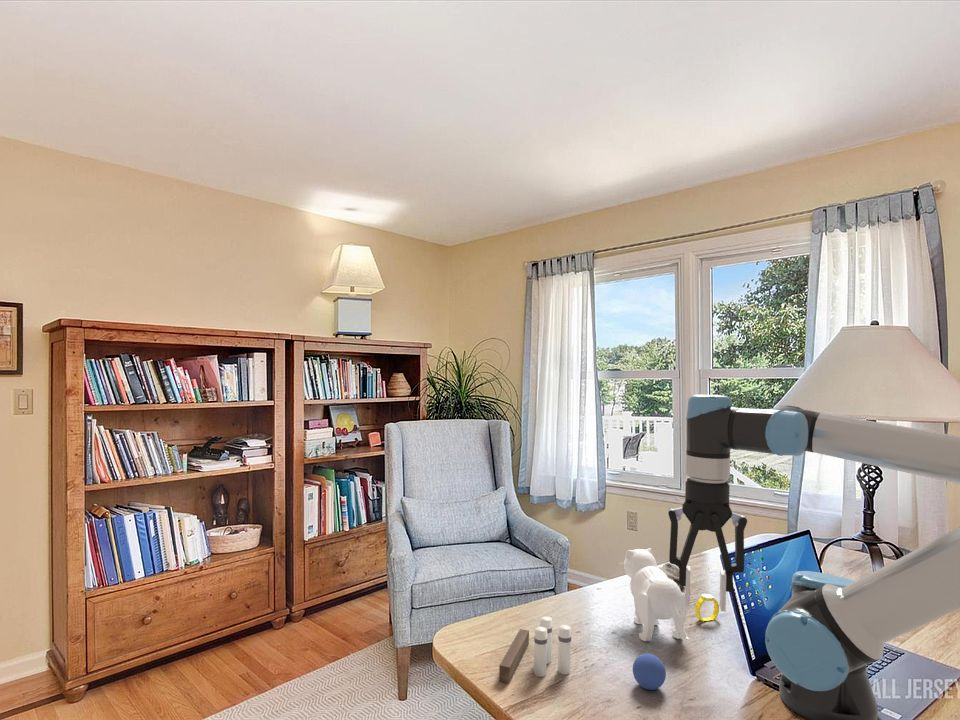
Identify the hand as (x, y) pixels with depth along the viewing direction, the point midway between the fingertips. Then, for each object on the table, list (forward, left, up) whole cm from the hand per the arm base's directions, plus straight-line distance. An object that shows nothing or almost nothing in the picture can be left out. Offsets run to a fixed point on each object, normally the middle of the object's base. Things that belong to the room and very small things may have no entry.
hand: (704, 605), depth 104 cm
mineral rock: (+36, -42, -17) cm, 58 cm away
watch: (+18, -31, -17) cm, 39 cm away
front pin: (+21, +15, -17) cm, 31 cm away
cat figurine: (+21, -15, -17) cm, 31 cm away
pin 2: (+23, +19, -17) cm, 34 cm away
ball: (+8, +5, -14) cm, 17 cm away
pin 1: (+26, +15, -17) cm, 34 cm away
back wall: (+29, +20, -17) cm, 39 cm away
